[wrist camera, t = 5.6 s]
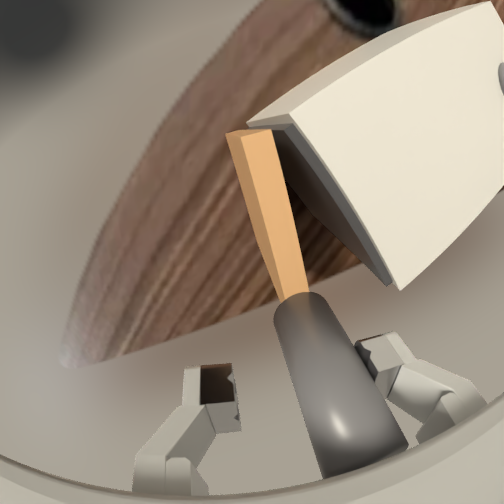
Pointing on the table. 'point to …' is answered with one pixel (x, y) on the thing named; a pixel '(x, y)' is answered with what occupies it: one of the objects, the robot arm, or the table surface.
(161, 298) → the table surface
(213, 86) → the table surface
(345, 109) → the camera case
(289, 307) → the wooden flat board
